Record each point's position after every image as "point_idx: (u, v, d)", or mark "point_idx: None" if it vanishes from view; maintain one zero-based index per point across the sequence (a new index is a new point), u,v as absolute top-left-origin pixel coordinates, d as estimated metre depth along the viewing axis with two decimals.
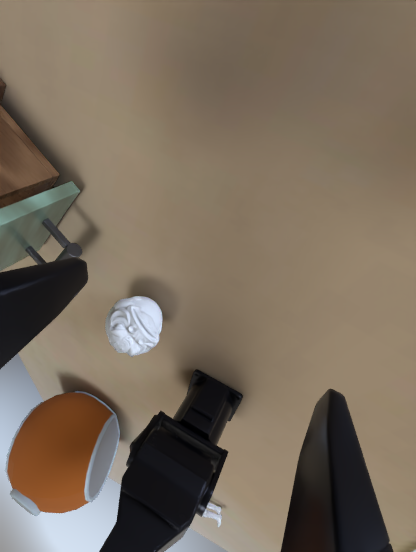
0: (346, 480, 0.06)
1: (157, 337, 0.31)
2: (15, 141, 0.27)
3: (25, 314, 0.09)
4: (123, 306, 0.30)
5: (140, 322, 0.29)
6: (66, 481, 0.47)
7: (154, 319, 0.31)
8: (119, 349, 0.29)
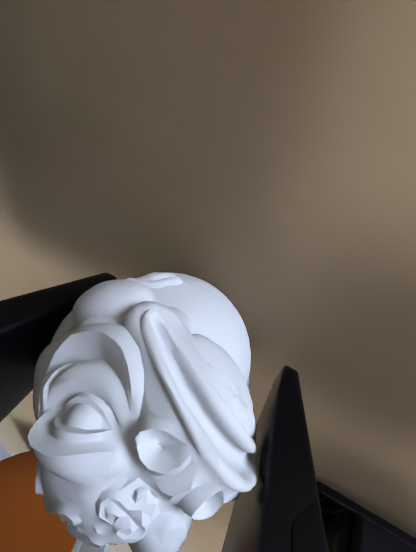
0: (285, 444, 0.07)
1: None
2: None
3: None
4: (110, 309, 0.07)
5: (198, 393, 0.05)
6: None
7: (237, 362, 0.08)
8: (86, 538, 0.05)
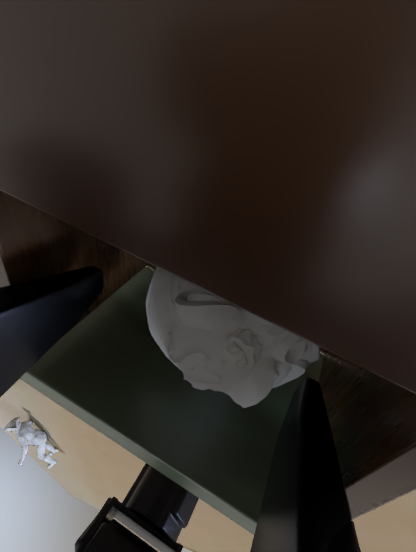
0: (314, 461, 0.07)
1: None
2: None
3: (43, 325, 0.09)
4: None
5: None
6: None
7: None
8: (206, 379, 0.08)
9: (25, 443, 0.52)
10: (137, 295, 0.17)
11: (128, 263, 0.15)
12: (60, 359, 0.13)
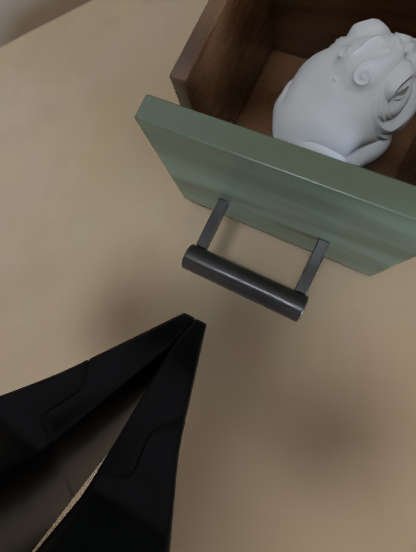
0: (168, 377, 0.07)
1: None
2: None
3: (145, 386, 0.08)
4: None
5: None
6: None
7: None
8: (379, 55, 0.12)
9: None
10: None
11: None
12: None
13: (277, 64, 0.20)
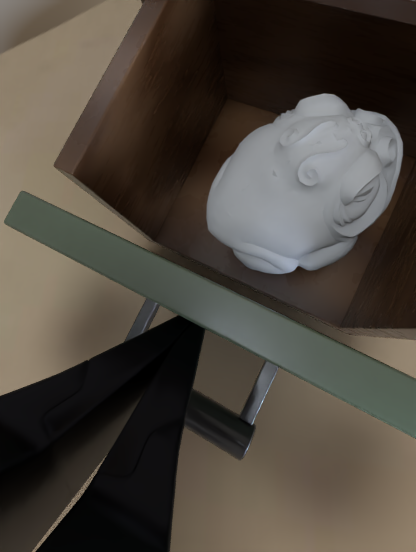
0: (168, 377, 0.07)
1: None
2: None
3: (145, 386, 0.08)
4: None
5: None
6: None
7: None
8: (331, 149, 0.09)
9: None
10: None
11: (154, 208, 0.15)
12: None
13: (232, 116, 0.17)
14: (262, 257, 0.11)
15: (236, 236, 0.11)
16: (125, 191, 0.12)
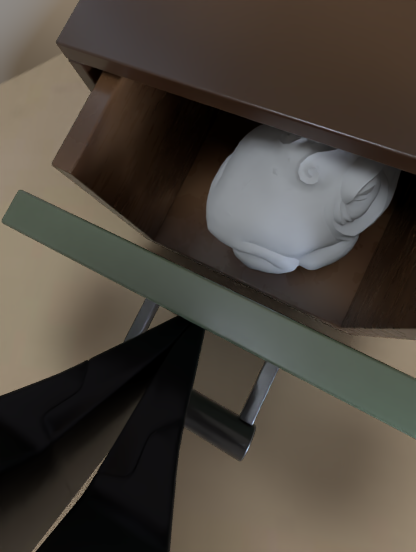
0: (168, 377, 0.07)
1: None
2: None
3: (145, 386, 0.08)
4: None
5: None
6: None
7: None
8: (332, 147, 0.09)
9: None
10: None
11: (153, 207, 0.15)
12: None
13: (232, 115, 0.17)
14: (262, 256, 0.11)
15: (236, 235, 0.11)
16: (124, 190, 0.12)
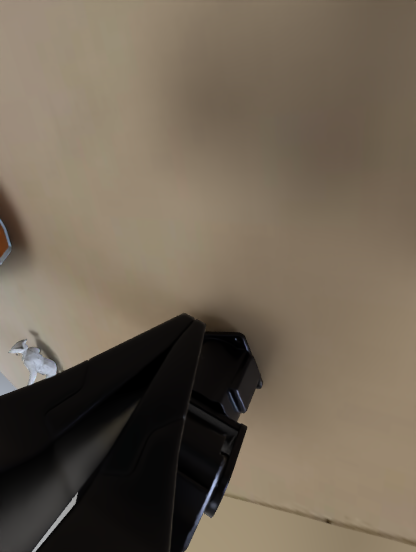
0: (168, 377, 0.07)
1: None
2: None
3: (145, 386, 0.08)
4: None
5: None
6: None
7: None
8: None
9: (33, 368, 0.45)
10: None
11: None
12: None
13: None
14: None
15: None
16: None
